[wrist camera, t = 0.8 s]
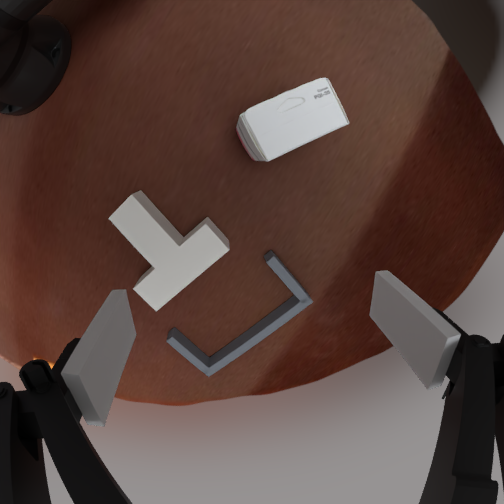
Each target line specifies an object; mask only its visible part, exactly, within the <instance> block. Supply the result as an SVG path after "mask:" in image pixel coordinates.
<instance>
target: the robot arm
mask: <svg viewBox="0 0 504 504" xmlns="http://www.w3.org/2000/svg"><path fill="white" fill-rule="evenodd" d="M51 1H53V0H0V113H2V114H7V115H22V114H26V113H28V112H30V111H32V110H34V109H35V108H37V107H38V106H40V105H41V104H42V103H43V102H44V101H45V100H46V99H47V98H48V97H49V96H50V95H51V94H52V92H53V91H54V90H55V88H56V87H57V85H58V84H59V82H60V81H61V79H62V77H63V75H64V73H65V70H66V68H67V65H68V62H69V58H70V53H71V38H70V34H69V31H68V30H67V28H66V27H65V25H63V24H62V23H61V22H59V21H58V20H57V19H55V18H53V17H50V16H47V15H36V14H37V13H38V12H40V11H41V10H42V9H43V8H44V7H45V6H47V5H48V4H49V3H50V2H51ZM369 316H370V317H371V318H372V319H373V321H374V322H375V323H376V324H377V325H378V327H379V328H380V329H381V330H382V332H383V333H384V334H385V335H386V337H387V338H388V339H389V340H390V342H391V343H392V344H393V345H394V347H395V348H396V349H397V350H398V352H399V353H400V354H401V355H402V357H403V358H404V359H405V361H406V362H407V363H408V365H409V366H410V367H411V368H412V370H413V371H414V372H415V374H416V375H417V376H418V378H419V379H420V380H421V382H422V383H423V384H424V385H425V387H426V388H427V389H428V390H431V389H433V388H436V387H439V386H441V385H442V383H443V380H444V378H445V376H447V377H448V378H449V379H450V381H449V384H448V386H447V388H446V390H445V392H444V395H443V397H442V399H444V398H445V396H446V399H445V405H444V411H443V416H442V421H441V426H440V431H439V436H438V440H437V444H436V448H435V452H434V456H433V460H432V464H431V468H430V471H429V474H428V478H427V481H426V484H425V487H424V490H423V493H422V496H421V499H420V502H419V504H496V500H497V495H498V483H497V481H493V480H491V472H492V464H493V453H494V439H495V437H496V442H497V447H498V453H499V458H500V465H501V472H502V480H503V490H504V335H503V336H502V339H501V341H500V343H494V344H491V343H490V341H489V340H487V339H486V338H485V337H483V336H480V335H470V336H469V335H468V334H467V333H465V332H464V331H463V330H462V329H461V328H460V327H459V326H458V325H457V324H455V323H453V321H452V320H451V319H450V318H448V316H446V315H445V314H444V313H443V312H442V311H440V310H438V309H436V308H431V307H430V306H429V305H428V304H427V303H426V302H425V301H423V300H422V299H421V298H420V297H419V296H418V295H416V294H415V293H414V292H413V291H412V290H410V289H409V288H408V287H407V286H406V285H405V284H403V283H402V282H401V281H400V280H399V279H397V278H396V277H395V276H394V275H393V274H391V273H390V272H389V271H388V270H387V271H377V272H376V274H375V281H374V289H373V296H372V302H371V309H370V315H369ZM135 337H136V331H135V327H134V323H133V319H132V315H131V310H130V306H129V302H128V297H127V292H126V289H123V290H112V291H111V293H110V294H109V296H108V297H107V299H106V300H105V302H104V303H103V305H102V306H101V308H100V309H99V311H98V312H97V314H96V316H95V317H94V319H93V320H92V322H91V323H90V325H89V327H88V328H87V330H86V331H85V333H84V335H83V336H82V338H75V339H73V340H72V341H71V342H70V343H68V344H67V346H66V347H65V349H64V350H63V353H61V355H60V357H59V359H58V360H57V361H56V363H55V365H54V366H53V368H52V370H51V368H50V366H49V364H48V362H47V361H45V360H42V359H36V360H32V361H30V362H28V363H26V364H25V365H24V366H23V367H22V368H21V370H20V372H19V376H20V378H21V380H22V382H23V384H24V386H25V388H26V389H27V390H25V391H15V390H14V388H13V386H12V385H11V384H10V383H7V382H0V504H51V500H50V495H49V489H48V484H47V477H46V471H45V463H44V455H43V446H42V438H44V440H45V443H46V445H47V448H48V450H49V453H50V455H51V457H52V460H53V462H54V464H55V466H56V468H57V471H58V473H59V475H60V477H61V479H62V481H63V483H64V485H65V487H66V489H67V491H68V493H69V495H70V497H71V498H72V500H73V502H74V504H132V502H131V501H130V500H129V499H128V497H127V496H126V495H125V493H124V492H123V491H122V489H121V488H120V486H119V485H118V484H117V482H116V481H115V480H114V478H113V477H112V475H111V474H110V472H109V471H108V469H107V468H106V466H105V465H104V463H103V461H102V460H101V458H100V457H99V455H98V453H97V452H96V450H95V449H94V447H93V445H92V444H91V442H90V440H89V438H88V437H87V435H86V433H85V431H84V430H83V428H82V426H81V424H80V423H79V422H80V419H81V417H82V416H83V417H84V419H85V421H86V423H87V424H89V425H96V426H105V423H106V419H107V416H108V413H109V410H110V407H111V404H112V401H113V398H114V395H115V392H116V389H117V386H118V383H119V381H120V378H121V375H122V372H123V369H124V366H125V364H126V361H127V358H128V356H129V353H130V350H131V347H132V345H133V342H134V340H135Z"/></svg>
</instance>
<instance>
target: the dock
mask: <svg viewBox="0 0 504 504" xmlns="http://www.w3.org/2000/svg"><path fill="white" fill-rule="evenodd" d="M264 258H265V260H266V263H267V264H268V265H269V266H270V267H271V268H272V270H273V271H274V272H275V273H276V274H277V275H278V276H279V278H280V279H281V280H282V281H283V282H284V283H285V284H286V286H287V287H288V288H289V289H290V290H291V291H292V292H293V294H294V295H293V296H292V297H291V298H290V299H288V300H287V301H286V302H284V303H283V304H282V305H280V306H279V307H278V308H277V309H275V310H274V311H273V312H271V313H270V314H269V315H267V316H266V317H265V318H263V319H262V320H261V321H259V322H258V323H257V324H255V325H254V326H253V327H251V328H250V329H248V330H247V331H246V332H244V333H243V334H242V335H240V336H239V337H238V338H236V339H235V340H233V341H232V342H231V343H229V344H228V345H226V346H225V347H224V348H222V349H221V350H219V351H218V352H217V353H215V354H214V355H212V356H211V357H208V356H207V355H206V354H205V353H203V352H202V351H201V350H200V349H199V348H198V347H196V346H195V345H194V344H193V343H192V342H191V341H190V340H189V339H187V338H186V337H185V336H184V335H183V334H182V333H181V332H180V331H179V330H177V329H176V328H175V327H174V328H173V329H172V330H170V331H169V334H168V337H167V342H168V343H169V344H170V345H171V346H172V347H173V348H175V349H176V350H177V351H178V352H179V353H180V354H182V355H183V356H184V357H185V358H186V359H188V360H189V361H190V362H191V363H192V364H194V365H195V366H196V367H197V368H198V369H200V370H201V371H202V372H203V373H205V374H206V375H207V376H208V377H209V376H210V375H212V374H213V373H215V372H216V371H218V370H219V369H221V368H222V367H224V366H225V365H227V364H228V363H230V362H231V361H233V360H234V359H236V358H237V357H239V356H240V355H241V354H243V353H244V352H246V351H247V350H249V349H250V348H251V347H253V346H254V345H256V344H257V343H258V342H260V341H261V340H263V339H264V338H265V337H267V336H268V335H270V334H271V333H272V332H274V331H275V330H276V329H278V328H279V327H281V326H282V325H283V324H285V323H286V322H287V321H289V320H290V319H291V318H293V317H294V316H295V315H297V314H298V313H299V312H301V311H302V310H303V309H304V308H306V307H307V306H308V305H310V304H311V303H312V302H313V301H312V299H311V298H310V296H309V294H308V293H307V292H306V290H305V289H304V288H303V287H302V286H301V284H300V283H299V282H298V281H297V280H296V279H295V277H294V276H293V275H292V274H291V273H290V271H289V270H288V269H287V268H286V267H285V266H284V264H283V263H282V262H281V261H280V260H279V259H278V257H277V256H276V255H275V254H274V253H273V252H272V250H270V251H269V252H268V253H267V254H265V255H264Z"/></svg>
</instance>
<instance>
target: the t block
mask: <svg viewBox="0 0 504 504" xmlns="http://www.w3.org/2000/svg"><path fill="white" fill-rule="evenodd" d="M109 219H110V221H111V222H112V223H113V224H114V225H115V226H116V227H117V228H118V229H119V231H120V232H121V233H122V234H123V235H124V236H125V237H126V238H127V239H128V240H129V242H130V243H131V244H132V245H133V246H134V247H135V248H136V249H137V250H138V251H139V252H140V253H141V254H142V256H143V257H144V258H145V259H146V260H147V261H148V262H149V263H150V264H151V265H152V267H151V268H149V269H148V270H147V271H146V272H145V273H144V274H143V275H142V276H141V277H140V279H139V280H138V282H137V284H136V285H135V287H134V288H133V289H134V290H135V291H136V292H137V293H138V294H139V295H140V296H141V297H142V298H143V299H144V300H145V301H146V302H147V303H148V304H149V305H150V306H151V307H152V308H153V309H154V310H155V311H158V310H159V309H160V308H161V307H162V306H163V305H165V304H166V303H167V302H168V301H169V300H170V299H172V298H173V297H174V296H175V295H176V294H178V293H179V292H180V291H181V290H182V289H184V288H185V287H186V286H187V285H188V284H189V283H191V282H192V281H193V280H194V279H195V278H197V277H198V276H199V275H200V274H201V273H203V272H204V271H205V270H206V269H207V268H209V267H210V266H211V265H212V264H213V263H215V262H216V261H217V260H218V259H219V258H221V257H222V256H223V255H224V254H225V253H227V252H228V251H229V240H228V239H227V238H226V236H225V235H224V234H223V233H222V232H221V231H220V230H219V229H218V228H217V226H216V225H215V224H214V223H213V222H212V221H211V220H210V219H209V217H206V218H205V219H204V220H203V221H202V222H201V223H200V224H198V225H197V226H196V227H195V228H194V229H193V230H192V231H190V232H189V233H188V234H187V235H186V236H185V237H183V236H182V235H181V234H180V233H179V232H178V231H177V230H176V228H175V227H174V226H173V225H172V224H171V223H170V222H169V221H168V220H167V219H166V217H165V216H164V215H163V214H162V213H161V212H160V211H159V210H158V209H157V208H156V206H155V205H154V204H153V203H152V202H151V201H150V200H149V199H148V197H147V196H146V195H145V194H144V193H143V192H142V191H141V190H140V191H138V192H136V193H133V194H131V195H130V196H129V197H128V198H127V199H126V201H125V202H124V203H123V204H122V205H121V206H120V207H119V208H118V209H117V210H116V211H115V212H114V213H113V214H112V215H111V216H110V217H109Z"/></svg>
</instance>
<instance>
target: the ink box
mask: <svg viewBox="0 0 504 504" xmlns="http://www.w3.org/2000/svg"><path fill="white" fill-rule="evenodd" d="M347 124H349V121H348V118H347V116H346V114H345V111H344V109H343V107H342V105H341V103H340V101H339V99H338V97H337V95H336V93H335V91H334V89H333V87H332V85H331V83H330V81H329V80H328V79H327V78H319V79H316V80H314V81H312V82H309V83H306V84H303V85H301V86H299V87H297V88H295V89H292V90H290V91H287V92H284V93H282V94H280V95H278V96H276V97H274V98H271V99H269V100H266V101H264V102H262V103H259V104H257V105H255V106H253V107H251V108H249V109H247V110H246V112H244V113H242V114H241V115H240V116H239V120H238V123H237V126H236V129H235V130H236V132H237V135H238V137H239V139H240V141H241V143H242V145H243V147H244V148H245V150H246V152H247V153H248V155H249V156H250V157H251V159H252V160H253V161H270V160H273V159H275V158H277V157H279V156H281V155H283V154H285V153H287V152H289V151H291V150H294V149H296V148H298V147H300V146H302V145H304V144H306V143H308V142H310V141H312V140H315V139H317V138H319V137H321V136H323V135H325V134H328V133H330V132H332V131H334V130H336V129H338V128H341V127H343V126H345V125H347Z"/></svg>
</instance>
